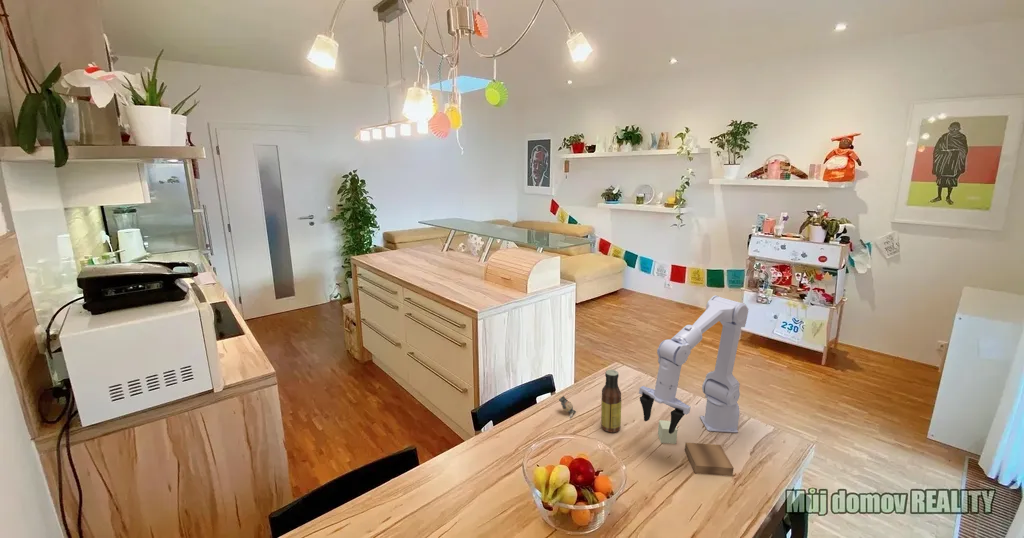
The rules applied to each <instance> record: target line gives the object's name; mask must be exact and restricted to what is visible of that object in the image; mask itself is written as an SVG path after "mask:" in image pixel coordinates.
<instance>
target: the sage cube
mask: <svg viewBox="0 0 1024 538" xmlns="http://www.w3.org/2000/svg"><path fill="white" fill-rule="evenodd" d="M670 423H671V420H664V419H662V420H661V419H659V420H658V428H657V436H658V438H659V441H660V444H673V445H674V444H675V445H677V438H678V428H677V426H676V428H675V431H674V432H673V433H672V434H670V433H669V427H670Z"/></svg>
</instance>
